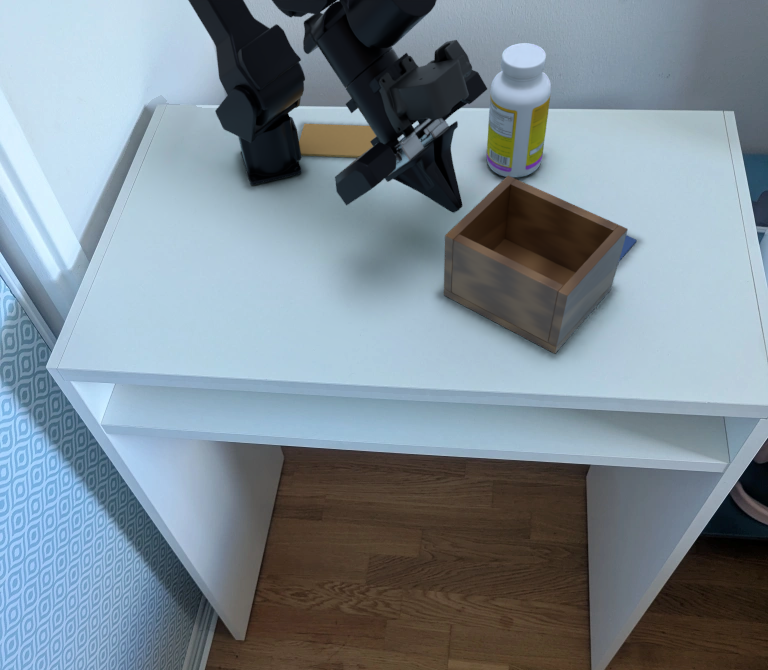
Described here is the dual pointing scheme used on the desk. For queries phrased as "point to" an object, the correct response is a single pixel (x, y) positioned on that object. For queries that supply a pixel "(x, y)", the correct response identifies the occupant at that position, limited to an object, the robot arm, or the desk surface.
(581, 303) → the crate
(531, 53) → the supplement bottle
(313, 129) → the tan cloth
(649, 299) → the desk surface
